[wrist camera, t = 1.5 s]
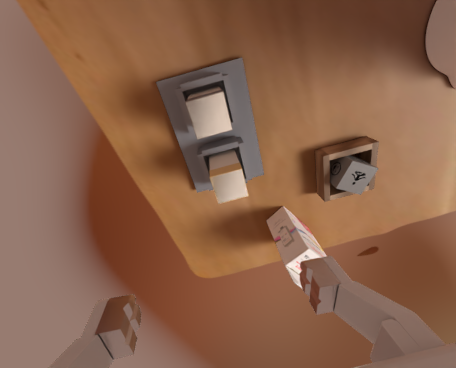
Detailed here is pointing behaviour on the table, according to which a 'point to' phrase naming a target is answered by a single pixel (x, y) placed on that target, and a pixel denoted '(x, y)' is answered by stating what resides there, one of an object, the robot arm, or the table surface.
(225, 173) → the block
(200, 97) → the block
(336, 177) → the dice cube
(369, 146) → the dice corral
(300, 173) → the table surface
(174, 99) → the block
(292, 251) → the ink cartridge box
